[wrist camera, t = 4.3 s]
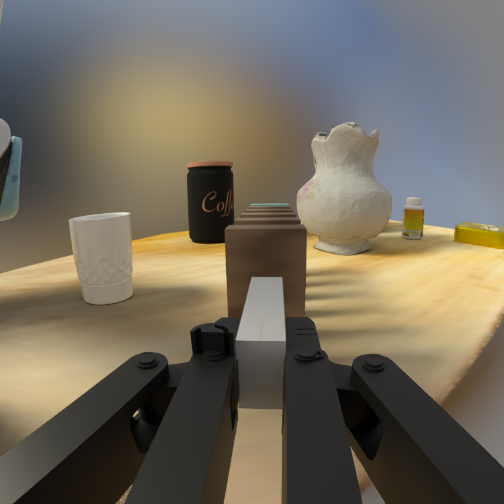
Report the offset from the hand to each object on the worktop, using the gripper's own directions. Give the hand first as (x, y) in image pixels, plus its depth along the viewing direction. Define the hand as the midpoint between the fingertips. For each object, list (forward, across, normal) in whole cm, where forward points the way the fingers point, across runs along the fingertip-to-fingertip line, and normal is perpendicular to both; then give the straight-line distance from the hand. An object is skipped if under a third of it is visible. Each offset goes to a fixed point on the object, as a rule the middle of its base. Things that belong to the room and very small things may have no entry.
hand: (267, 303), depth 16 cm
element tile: (+55, +56, -7) cm, 79 cm away
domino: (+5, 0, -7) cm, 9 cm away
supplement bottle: (+59, +36, -7) cm, 70 cm away
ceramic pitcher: (+48, +14, -7) cm, 51 cm away
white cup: (+18, -20, -7) cm, 28 cm away
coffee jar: (+57, -14, -7) cm, 59 cm away
